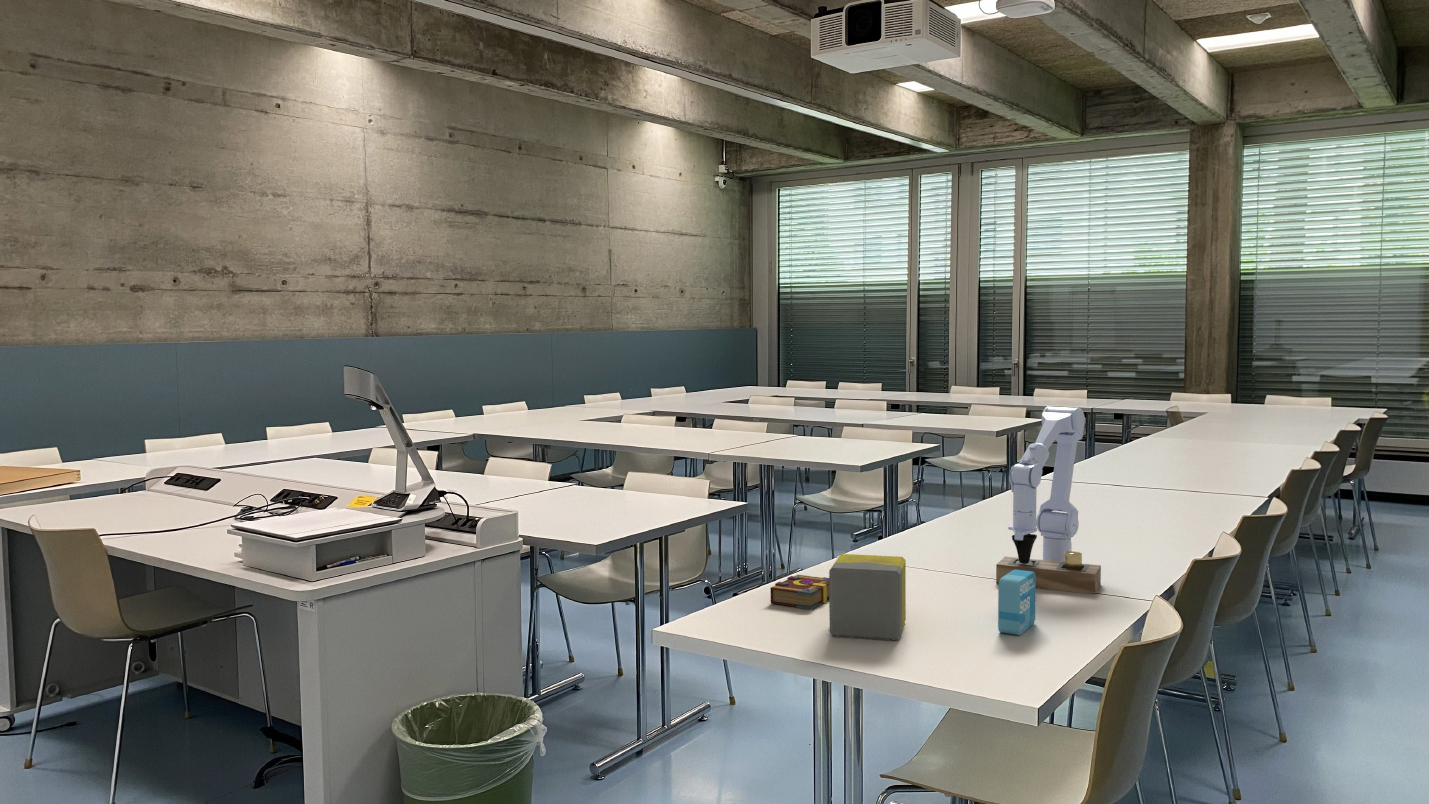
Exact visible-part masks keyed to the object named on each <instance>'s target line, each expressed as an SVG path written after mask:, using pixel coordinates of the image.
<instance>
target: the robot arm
mask: <svg viewBox="0 0 1429 804" xmlns="http://www.w3.org/2000/svg"><path fill="white" fill-rule="evenodd" d="M1085 423H1086V417H1085V413H1084V411H1083V409H1082V408H1080V407H1065V406H1064V407H1063V406H1061V407H1060V406H1049V405H1048V406H1046V407H1045V408H1044V409H1043V411H1042V413H1041V426H1042V427H1041V429H1040V431H1039V433H1038V436H1037V438H1036V440H1035V442H1033V443H1031V444H1029V445H1028V446H1027V448H1026V450H1025V452H1024V454H1023V455H1022V457H1021V459H1020V460H1019V461H1018V463H1015V464H1014V465H1012V466H1011V468H1010V470H1009V475H1008V481H1009V484H1010V491H1011V493H1013V494H1012V495H1013V496H1012V497H1013V498H1012V499H1013V500H1012V525H1009V526H1008V528H1007V529H1008V530H1009V531H1010V530H1011V531H1012V532H1013V534H1012V536H1011V539H1012V541H1013V544H1014V546H1015V548H1016V552H1017V558H1019V562H1020V563H1029V560H1030V559H1031V556H1032V555H1031V554H1032V551H1033V550H1032V549H1033V547H1034V543H1035V542H1036V540H1037V537H1038V534H1035V533H1036V532H1038V533H1040V536H1042V560H1048V561H1059V562H1064V552H1068V551H1072V549H1073V548H1072V545H1073V544H1072V538H1074V536H1075V535H1076V534H1077V532H1078V530H1079V524H1080V523H1079V511H1078V509H1077V508H1076V507H1075V505H1074V504H1072V503H1071V502H1070V496H1071V490H1072V483H1073V475H1074V468H1075V461H1076V453H1077V446H1078V441H1081V440H1083V437H1084V431H1085ZM1055 441H1056V443H1057V444H1056V452H1055V460H1054V467H1053V474H1052V481H1051V488H1050V495H1049V496H1050V497H1049V498H1048V500H1046V501H1045V502H1043V503H1041V504H1040V506H1039V511H1038V514H1037V490H1038V489H1037V488H1038V487H1039V485H1040V484H1041V480H1042V475H1043V472H1044V471H1043V468H1044V466H1045V464H1046V462H1047V460H1048V459H1049V458H1050V452H1049V448H1050V447H1051V446H1052V444H1053V443H1054V442H1055Z"/></svg>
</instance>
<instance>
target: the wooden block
mask: <svg viewBox="0 0 1429 804" xmlns="http://www.w3.org/2000/svg"><path fill="white" fill-rule="evenodd" d="M1016 561H1019V558H1018V557H1015V556H1014V557H1013V556H1004V557H1003V558H1002V559H1001V560H1000V561H998V562H997V563H996V567H995V569H996V571H995V572H996V573H995V583H996V584H998V585H999V581H1000V579H1001V578H1002V577H1003V576H1005V575H1007V574H1008V573H1010V572H1011V571H1013V570H1023V571H1031V572H1034V573H1035V576H1036V589H1043V590H1054V591H1064V592H1073V593H1082V594H1090V595H1092V594H1093V595H1096V593H1097V591H1098V590H1099V588H1100V587H1101V586H1102V583H1101V582H1102V581H1101V578H1102V565H1099V564H1089V563H1082V570H1076V569H1066V568H1064V562H1059V561H1048V560H1043V559H1035V558H1030V560H1029V561H1030V562H1032V563H1033V565H1025V564H1016Z"/></svg>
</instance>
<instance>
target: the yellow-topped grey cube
mask: <svg viewBox="0 0 1429 804" xmlns="http://www.w3.org/2000/svg"><path fill="white" fill-rule="evenodd" d="M906 561H907V560H906V558H904V557H903V556H897V555H896V556H892V555H875V554H873V555H870V554H849V553H841V554H840V555H839V556H838V557H837V559H836V560H835V562H834V563H833V564H832V566H831V568H830V569H829V570H828V578H829V599H828V601H829V606H828V607H829V613H828V614H829V617H828V618H829V634H830V635H831V636H832V637H835V636H839V637H838V638H850V637H853V638H854V639H865V640H880V641H881V640H883V641H884V640H885V641H893V642H896V641H899V639H900V638H901V635H902V632H903V629H904V625H905V623H906V619H907V618H906V612H907V610H906V608H907V607H906V606H907V605H906V602H907V601H906V600H907V597H906V596H907V595H906V594H907V593H906V592H907V591H906V589H907V588H906V587H907V586H906V585H907V583H906V581H907V580H906V579H907V578H906V577H907V576H906V575H907V574H906V573H907V571H906V565H907V563H906Z"/></svg>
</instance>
